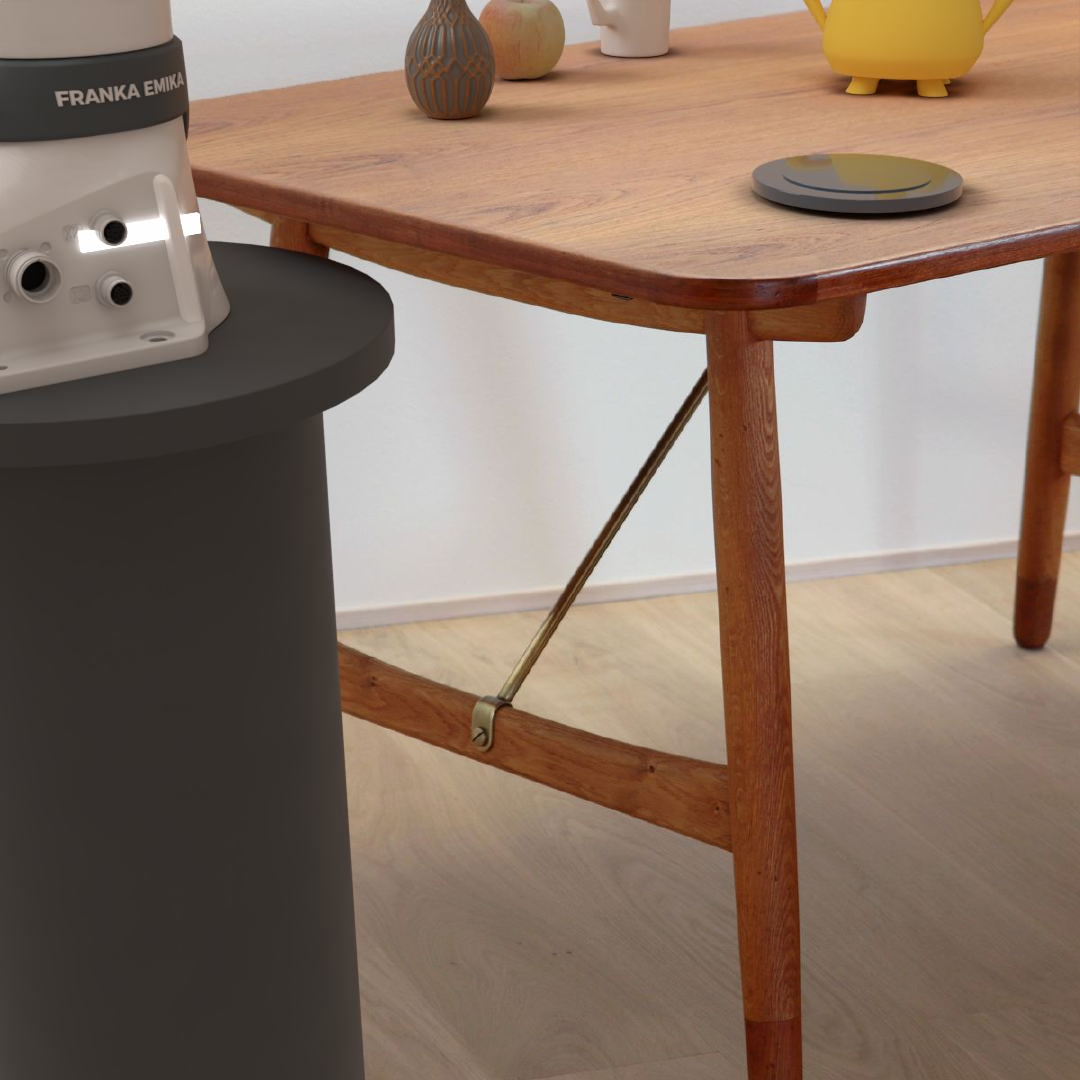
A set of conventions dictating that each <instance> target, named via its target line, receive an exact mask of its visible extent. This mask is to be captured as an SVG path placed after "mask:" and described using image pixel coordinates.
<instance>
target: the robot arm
mask: <svg viewBox="0 0 1080 1080" xmlns="http://www.w3.org/2000/svg"><path fill="white" fill-rule="evenodd" d="M171 6H172V5H171V0H0V395H1V394H6V393H11V392H16V391H21V390H26V389H32V388H37V387H42V386H47V385H52V384H57V383H62V382H68V381H73V380H78V379H83V378H88V377H93V376H99V375H104V374H109V373H114V372H119V371H124V370H129V369H135V368H140V367H145V366H150V365H155V364H160V363H166V362H171V361H176V360H181V359H186V358H191V357H195V356H198V355H201V354H203V353H204V352H205V351H206V350H207V349H208V345H209V339H208V335H209V333H210V332H211V331H212V330H213V329H214V328H215V327H217V326H218V325H219V324H220V323H221V322H223V321H224V320H225V318H226V317H227V316H228V314H229V312H230V303H229V301H228V298H227V296H226V294H225V291H224V289H223V287H222V284H221V282H220V279H219V276H218V273H217V271H216V268H215V265H214V262H213V258H212V255H211V252H210V249H209V246H208V242H207V241H208V238H207V233H206V231H205V226H204V222H203V219H202V215H201V211H200V206H199V202H198V196H197V193H196V188H195V183H194V179H193V173H192V167H191V162H190V161H191V160H190V157H189V156H190V155H189V149H188V144H187V141H188V138H189V129H190V98H189V97H190V96H189V89H188V87H189V86H188V79H187V69H186V63H185V53H184V45H183V41H182V39H180V37H178V36H177V35H176V34H174V30H173V20H172V7H171Z"/></svg>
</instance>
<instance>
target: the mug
mask: <svg viewBox="0 0 1080 1080" xmlns="http://www.w3.org/2000/svg"><path fill="white" fill-rule="evenodd" d="M671 2H672V0H586V5H587V9H588V14H589V17H590V22H591V24H592V25H593V26H597V27H599V29H600V30H599V33H600V34H599V35H600V51H601V53H602V54H603V55H606V56H610V57H617V58H618V57H619V58H651V57H657V56H664V55H666V54H667V53H668V52H669V45H670V43H669V42H670V28H671V27H670V25H671V8H672V7H671V5H672V3H671Z"/></svg>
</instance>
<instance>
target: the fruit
mask: <svg viewBox="0 0 1080 1080" xmlns="http://www.w3.org/2000/svg"><path fill="white" fill-rule="evenodd" d="M477 20H478V21H479V22H480V24H481V25H482V27H483V28H484V29H485V31H486V33H487V34H488V36H489V39H490V41H491V44H492V48H493V51H494V56H495V76H496V77H498V78H500V79H502V80H503V79H504V80H523V79H526V80H534V79H538V78H541V77H543V76H546V75H547V74H548V73H550V72H551V71H552V70H553V69H554V68H555V67H556V66H557V64H558V62H559V61H560V59H561V57H562V55H563V52H564V48H565V43H566V28H565V23H564V18H563V15H562V13H561V11H560V9H559V8H558V7H557V6H556V5H555V3H554V2H553V1H552V0H489V2H487V3H486V4H485V6H483V9H482V10H481V12H480V15H479V17H478V19H477Z"/></svg>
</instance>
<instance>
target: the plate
mask: <svg viewBox="0 0 1080 1080" xmlns="http://www.w3.org/2000/svg"><path fill="white" fill-rule="evenodd" d="M963 187H964V178H963V176H962V175H961V174H960V173H959V172H958V171H956V170H954V169H953V168H950V167H947V166H945V165H942V164H939V163H936V162H931V161H926V160H922V159H916V158H911V157H904V156H895V155H887V154H886V155H885V154H872V153H846V152H845V153H844V152H843V153H842V152H841V153H840V152H839V153H815V154H803V155H795V156H789V157H783V158H778V159H774V160H769V161H767V162H765V163H762V164H760V165H758V166H756V167H755V168H754V169H753V170H752V173H751V189H752V190H753V191H754V192H755V193H756V194H757V195H759V196H761V197H763V198H764V199H767V200H769V201H771V202H775V203H779V204H782V205H786V206H791V207H795V208H801V209H807V210H814V211H815V210H816V211H821V212H822V211H823V212H834V213H835V212H836V213H849V214H851V213H852V214H891V213H905V212H906V213H907V212H916V211H923V210H928V209H934V208H938V207H941V206H945V205H948V204H951V203H953V202H955V201H957V200H958V199H959V198H960V197H961V196H962V194H963Z"/></svg>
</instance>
